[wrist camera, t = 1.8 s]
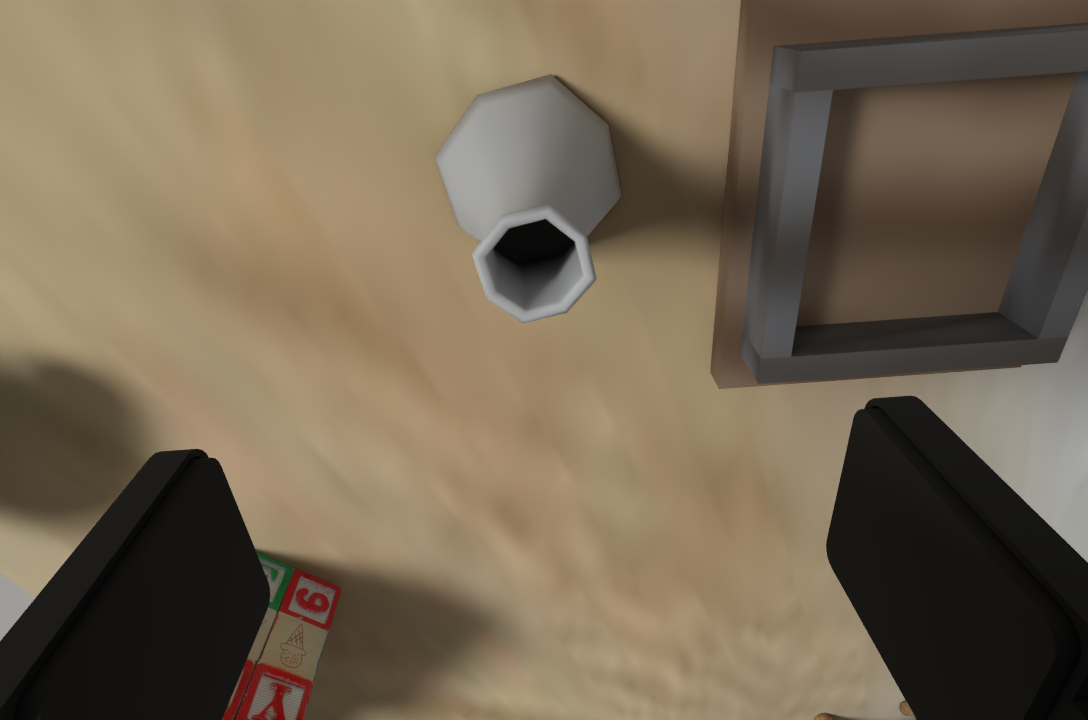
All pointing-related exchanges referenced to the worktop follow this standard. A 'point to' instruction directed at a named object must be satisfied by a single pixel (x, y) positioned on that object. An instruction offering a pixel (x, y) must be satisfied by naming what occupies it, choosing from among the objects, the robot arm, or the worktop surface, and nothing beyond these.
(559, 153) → the flask
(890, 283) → the board
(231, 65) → the worktop surface
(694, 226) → the worktop surface
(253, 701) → the stack of blocks
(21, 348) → the worktop surface
